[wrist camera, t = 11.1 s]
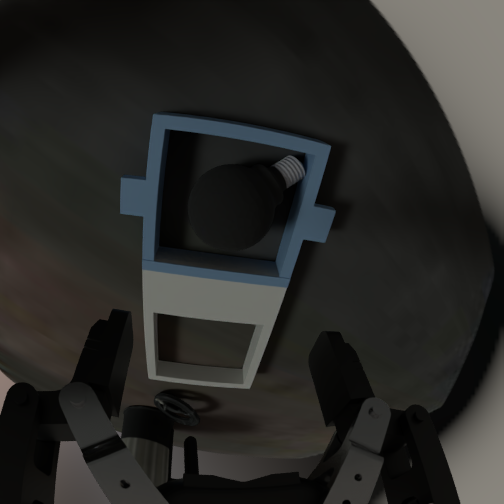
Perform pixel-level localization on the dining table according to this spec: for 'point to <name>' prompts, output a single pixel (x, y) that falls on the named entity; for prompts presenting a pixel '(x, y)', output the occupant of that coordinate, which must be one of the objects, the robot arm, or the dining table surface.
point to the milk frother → (159, 436)
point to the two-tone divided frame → (216, 265)
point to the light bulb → (239, 202)
